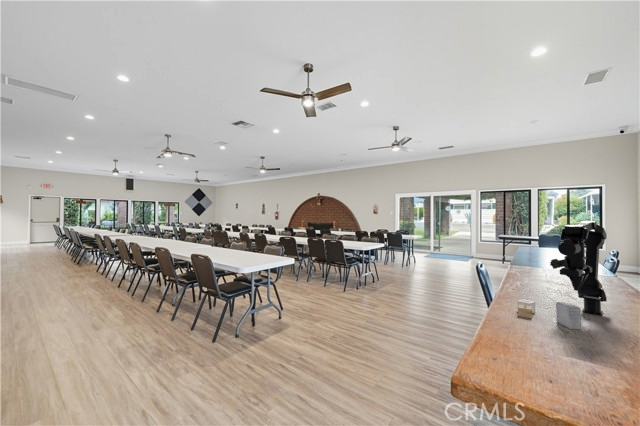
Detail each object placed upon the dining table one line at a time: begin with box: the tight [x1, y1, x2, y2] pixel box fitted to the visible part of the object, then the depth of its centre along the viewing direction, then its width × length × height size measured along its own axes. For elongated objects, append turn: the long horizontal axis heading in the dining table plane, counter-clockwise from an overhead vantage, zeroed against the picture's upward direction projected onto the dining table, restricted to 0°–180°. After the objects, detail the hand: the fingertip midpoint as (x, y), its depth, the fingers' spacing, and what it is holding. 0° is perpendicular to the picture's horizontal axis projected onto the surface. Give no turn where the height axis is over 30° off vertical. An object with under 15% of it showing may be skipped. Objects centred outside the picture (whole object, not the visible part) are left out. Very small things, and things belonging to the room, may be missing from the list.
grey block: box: [517, 299, 536, 314], centre depth 131 cm, size 5×5×5 cm
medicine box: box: [555, 301, 583, 331], centre depth 114 cm, size 8×4×9 cm, turn 168°
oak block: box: [517, 305, 533, 319], centre depth 126 cm, size 5×5×4 cm
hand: (576, 290), depth 120 cm, fingers closed
